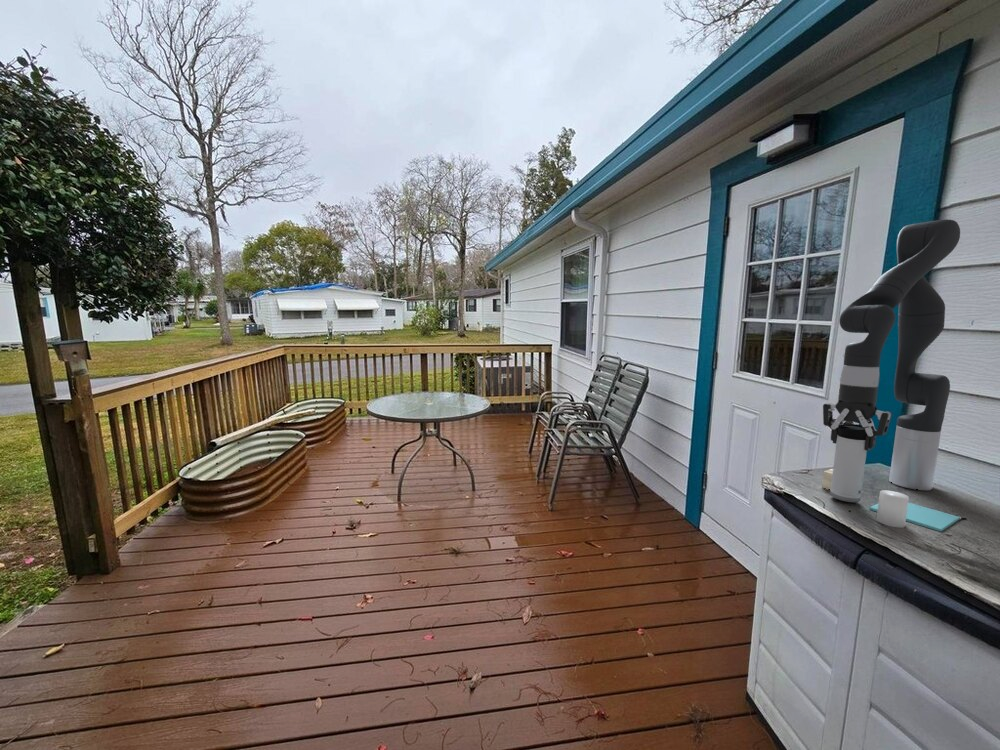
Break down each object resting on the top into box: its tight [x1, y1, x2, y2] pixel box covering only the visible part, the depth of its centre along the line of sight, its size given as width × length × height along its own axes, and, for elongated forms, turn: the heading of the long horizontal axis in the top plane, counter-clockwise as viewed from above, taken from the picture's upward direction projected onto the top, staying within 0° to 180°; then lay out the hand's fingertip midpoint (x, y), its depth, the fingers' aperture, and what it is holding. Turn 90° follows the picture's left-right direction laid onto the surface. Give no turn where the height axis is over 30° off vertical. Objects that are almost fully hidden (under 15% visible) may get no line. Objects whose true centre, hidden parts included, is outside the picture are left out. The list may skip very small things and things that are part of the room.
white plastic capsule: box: [876, 489, 910, 529], centre depth 99 cm, size 5×5×7 cm
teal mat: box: [869, 502, 961, 533], centre depth 104 cm, size 13×13×1 cm
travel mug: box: [829, 423, 868, 503], centre depth 110 cm, size 6×7×20 cm
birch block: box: [821, 468, 833, 491], centre depth 120 cm, size 5×5×5 cm
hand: (851, 446), depth 110 cm, fingers closed on travel mug, 6 cm apart
